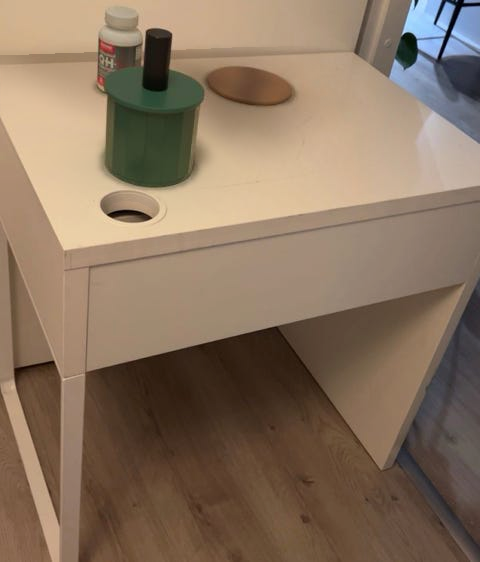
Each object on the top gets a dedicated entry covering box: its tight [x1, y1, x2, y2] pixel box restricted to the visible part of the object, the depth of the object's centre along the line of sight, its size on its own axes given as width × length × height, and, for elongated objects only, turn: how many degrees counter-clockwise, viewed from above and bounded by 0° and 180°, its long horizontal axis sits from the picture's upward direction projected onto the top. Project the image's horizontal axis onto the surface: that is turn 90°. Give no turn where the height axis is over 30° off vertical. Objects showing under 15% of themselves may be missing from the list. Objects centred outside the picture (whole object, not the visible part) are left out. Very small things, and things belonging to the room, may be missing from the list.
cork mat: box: [207, 65, 293, 106], centre depth 100 cm, size 12×12×1 cm
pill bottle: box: [96, 5, 144, 93], centre depth 91 cm, size 5×5×10 cm
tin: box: [104, 94, 201, 188], centre depth 77 cm, size 9×9×8 cm
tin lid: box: [103, 27, 206, 114], centre depth 73 cm, size 10×10×7 cm
